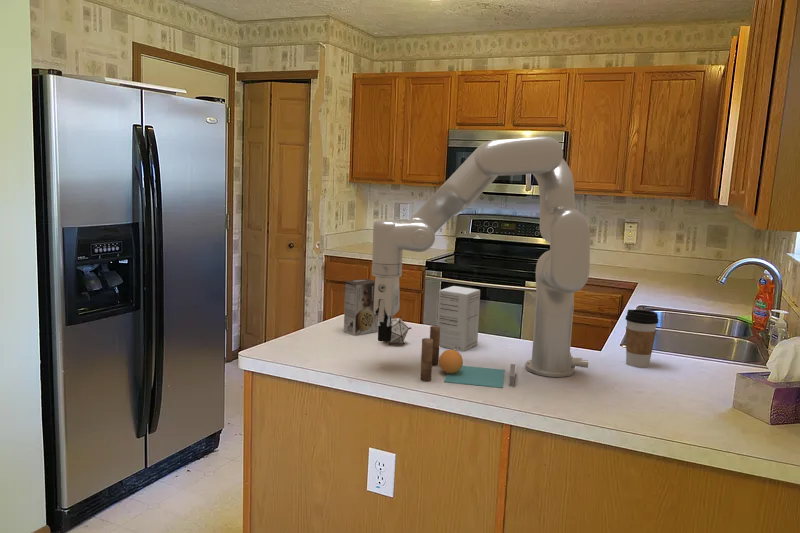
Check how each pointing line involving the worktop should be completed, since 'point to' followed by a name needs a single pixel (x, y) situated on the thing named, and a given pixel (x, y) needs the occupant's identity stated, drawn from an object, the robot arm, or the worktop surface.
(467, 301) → the supplement box
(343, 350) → the worktop surface
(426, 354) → the post near
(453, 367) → the ball
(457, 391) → the worktop surface
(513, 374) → the stopper strip
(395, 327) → the game die
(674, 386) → the worktop surface
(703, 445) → the worktop surface
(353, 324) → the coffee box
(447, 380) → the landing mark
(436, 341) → the post far
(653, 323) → the coffee cup
